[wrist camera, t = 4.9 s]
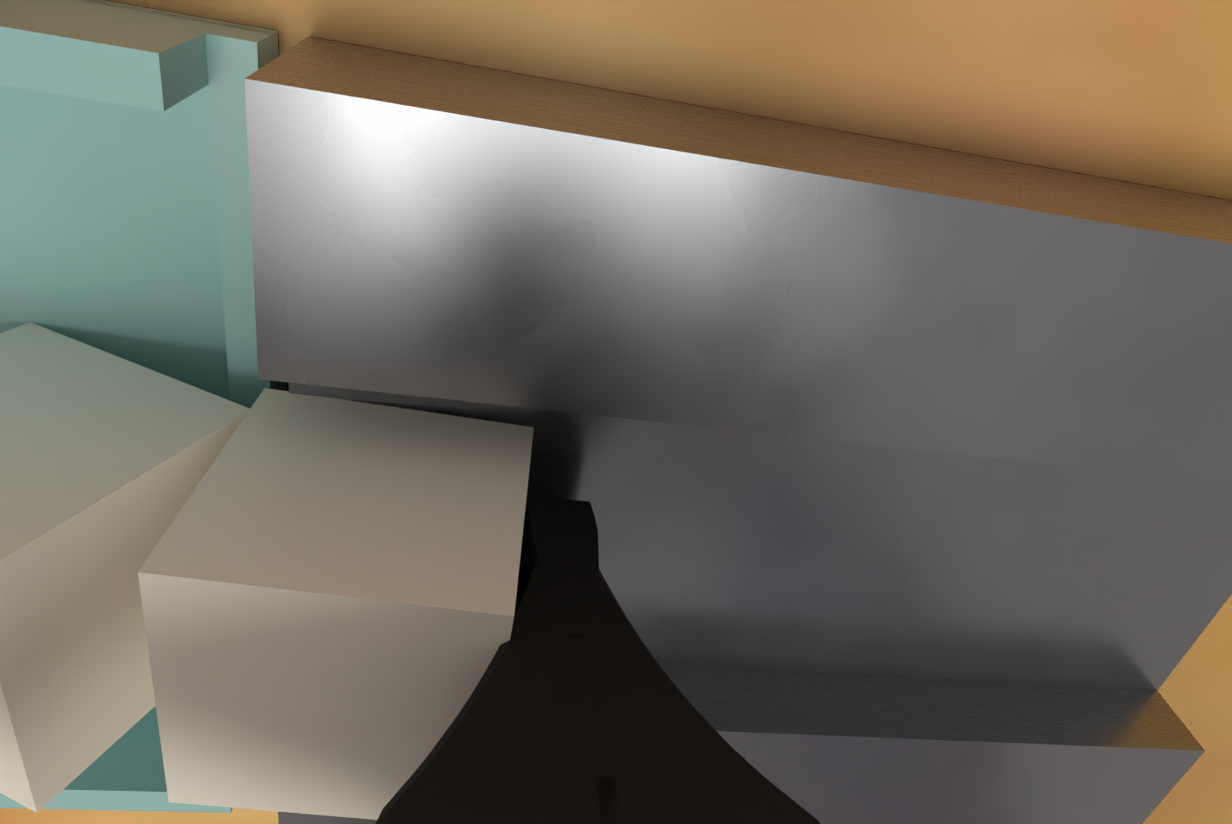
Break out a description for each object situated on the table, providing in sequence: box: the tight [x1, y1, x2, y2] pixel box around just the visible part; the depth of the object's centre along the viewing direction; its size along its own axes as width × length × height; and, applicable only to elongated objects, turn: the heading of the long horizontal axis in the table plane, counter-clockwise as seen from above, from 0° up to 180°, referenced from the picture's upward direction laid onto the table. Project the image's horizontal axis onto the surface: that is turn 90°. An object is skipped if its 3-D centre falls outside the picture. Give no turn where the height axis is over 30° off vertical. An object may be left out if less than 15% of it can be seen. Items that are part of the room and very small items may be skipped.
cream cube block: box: [138, 388, 534, 820], centre depth 12 cm, size 4×4×4 cm
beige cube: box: [0, 322, 250, 813], centre depth 11 cm, size 4×4×4 cm
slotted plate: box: [245, 37, 1232, 824], centre depth 15 cm, size 14×18×3 cm
